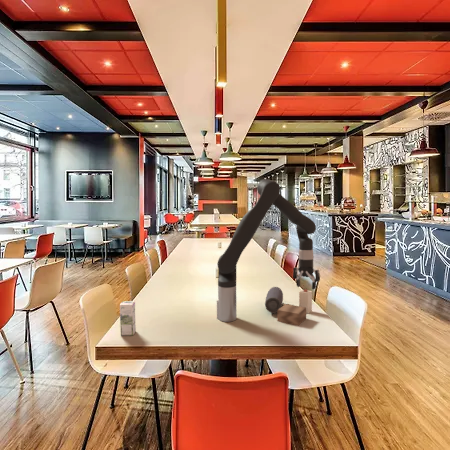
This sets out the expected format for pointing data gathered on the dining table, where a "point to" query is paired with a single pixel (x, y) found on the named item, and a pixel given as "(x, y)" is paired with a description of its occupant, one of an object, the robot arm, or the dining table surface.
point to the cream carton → (305, 300)
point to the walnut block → (291, 314)
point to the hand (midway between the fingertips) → (306, 287)
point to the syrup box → (127, 318)
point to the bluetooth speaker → (274, 299)
